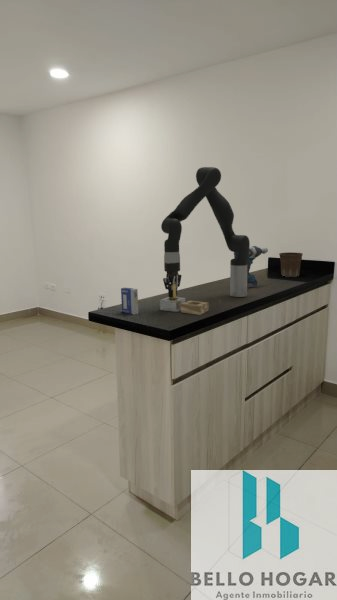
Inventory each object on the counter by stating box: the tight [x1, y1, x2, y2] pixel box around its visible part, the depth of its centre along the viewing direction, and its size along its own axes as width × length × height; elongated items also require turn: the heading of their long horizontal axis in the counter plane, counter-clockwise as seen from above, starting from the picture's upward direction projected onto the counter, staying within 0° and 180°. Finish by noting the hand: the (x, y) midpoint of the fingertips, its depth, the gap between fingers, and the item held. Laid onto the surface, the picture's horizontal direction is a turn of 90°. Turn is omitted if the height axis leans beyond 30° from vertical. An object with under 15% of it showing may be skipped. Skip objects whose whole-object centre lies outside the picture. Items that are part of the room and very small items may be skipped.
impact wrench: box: [233, 245, 268, 289], centre depth 252 cm, size 8×23×25 cm, turn 112°
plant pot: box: [278, 252, 303, 278], centre depth 291 cm, size 16×16×16 cm
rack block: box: [180, 300, 210, 316], centre depth 194 cm, size 9×10×4 cm
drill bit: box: [170, 283, 177, 300], centre depth 199 cm, size 3×3×12 cm
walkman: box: [120, 287, 139, 315], centre depth 193 cm, size 8×3×12 cm, turn 56°
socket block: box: [159, 296, 187, 313], centre depth 200 cm, size 9×9×5 cm
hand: (172, 296), depth 199 cm, fingers closed on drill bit, 3 cm apart
